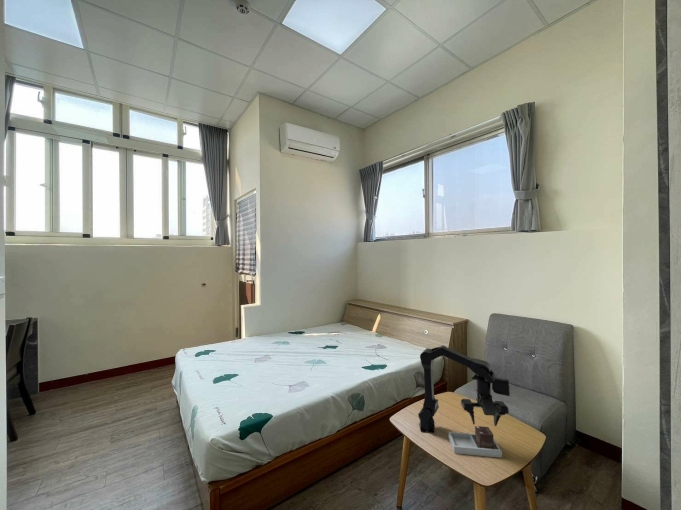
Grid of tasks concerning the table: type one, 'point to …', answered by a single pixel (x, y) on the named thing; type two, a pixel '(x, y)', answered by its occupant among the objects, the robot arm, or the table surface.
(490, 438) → the box
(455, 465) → the table surface
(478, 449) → the tray
